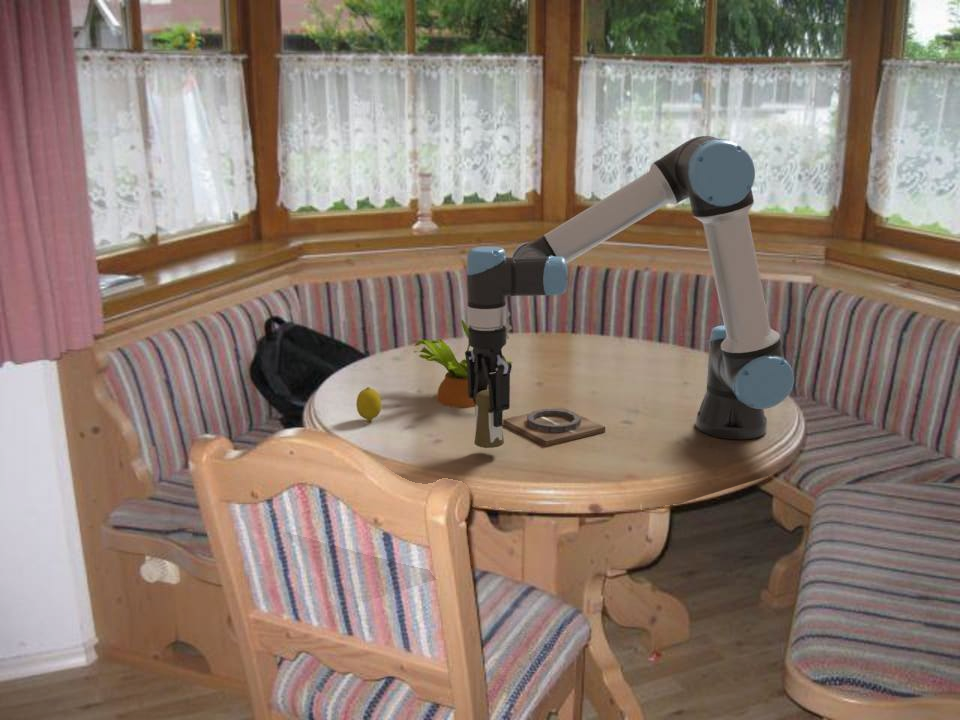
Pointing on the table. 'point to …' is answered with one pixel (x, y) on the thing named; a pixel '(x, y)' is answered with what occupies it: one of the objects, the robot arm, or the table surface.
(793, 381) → the robot arm
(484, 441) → the olive round stacked cylinder
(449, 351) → the decorative plant
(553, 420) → the socket board
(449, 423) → the table surface
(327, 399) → the table surface
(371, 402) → the lemon
